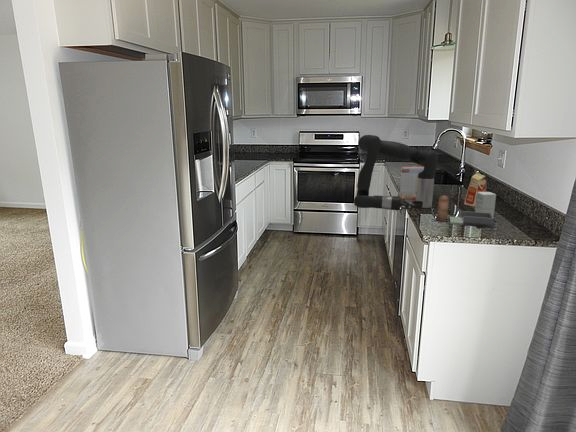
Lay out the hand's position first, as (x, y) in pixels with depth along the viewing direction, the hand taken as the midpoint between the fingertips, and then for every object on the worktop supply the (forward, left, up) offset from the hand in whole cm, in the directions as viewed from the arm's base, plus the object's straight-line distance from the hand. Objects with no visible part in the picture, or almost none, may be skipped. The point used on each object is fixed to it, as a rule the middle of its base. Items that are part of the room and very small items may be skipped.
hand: (422, 205), depth 218 cm
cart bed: (0, +24, -7) cm, 25 cm away
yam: (0, +10, -8) cm, 13 cm away
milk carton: (-46, +30, -8) cm, 56 cm away
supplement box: (-19, +32, -8) cm, 38 cm away
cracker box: (-51, -8, -8) cm, 52 cm away
